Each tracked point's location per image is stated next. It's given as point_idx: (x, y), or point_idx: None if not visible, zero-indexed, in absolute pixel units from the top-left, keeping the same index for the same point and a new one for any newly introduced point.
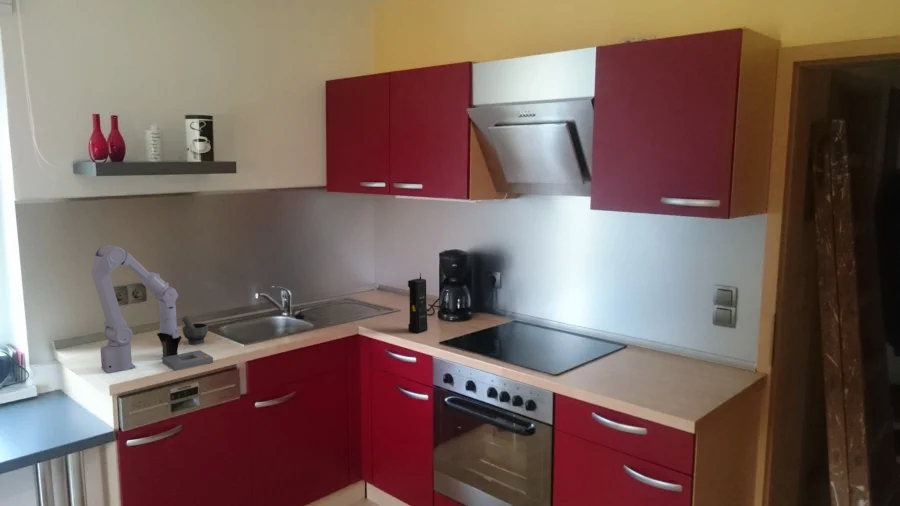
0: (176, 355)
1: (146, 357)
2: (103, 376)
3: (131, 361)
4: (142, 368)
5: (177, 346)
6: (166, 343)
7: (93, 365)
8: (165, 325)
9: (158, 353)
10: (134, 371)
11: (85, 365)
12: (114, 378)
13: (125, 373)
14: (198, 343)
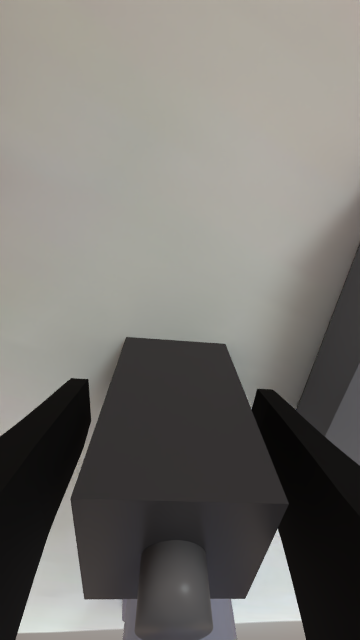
0: (354, 428)
1: (73, 481)
2: (239, 618)
3: (211, 599)
4: (274, 539)
5: (348, 464)
6: (246, 589)
7: (56, 616)
8: None
9: (12, 407)
10: (284, 563)
11: (36, 627)
12: (298, 607)
13: (276, 583)
14: None
